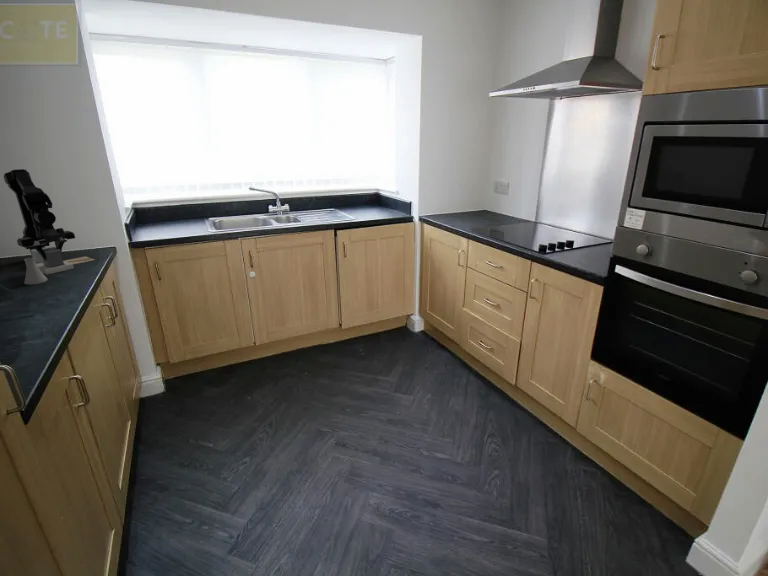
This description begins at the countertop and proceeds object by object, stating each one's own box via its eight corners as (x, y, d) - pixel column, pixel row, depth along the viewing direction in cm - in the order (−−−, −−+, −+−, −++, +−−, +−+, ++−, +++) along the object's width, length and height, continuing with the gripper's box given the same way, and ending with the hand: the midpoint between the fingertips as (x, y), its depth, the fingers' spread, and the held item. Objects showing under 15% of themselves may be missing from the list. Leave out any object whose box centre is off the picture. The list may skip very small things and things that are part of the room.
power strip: (22, 264, 189) (20, 257, 188) (48, 259, 197) (46, 252, 196) (47, 275, 175) (44, 268, 174) (74, 269, 183) (72, 262, 182)
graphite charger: (44, 265, 180) (39, 249, 178) (58, 262, 184) (53, 246, 182) (50, 267, 177) (45, 251, 175) (64, 264, 181) (60, 249, 179)
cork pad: (63, 261, 194) (63, 260, 194) (85, 257, 201) (85, 256, 201) (73, 265, 189) (73, 264, 188) (95, 260, 196) (95, 259, 195)
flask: (38, 286, 163) (31, 261, 160) (20, 285, 164) (12, 261, 160) (52, 279, 170) (45, 256, 167) (35, 279, 170) (27, 256, 167)
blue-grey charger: (34, 265, 187) (30, 249, 185) (48, 262, 191) (43, 247, 189) (40, 267, 184) (35, 251, 182) (53, 264, 188) (49, 249, 186)
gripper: (22, 228, 163) (33, 266, 168) (76, 220, 177) (85, 256, 183) (11, 225, 169) (23, 262, 174) (64, 217, 183) (73, 252, 189)
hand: (52, 258), depth 180 cm, fingers closed on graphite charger, 5 cm apart
